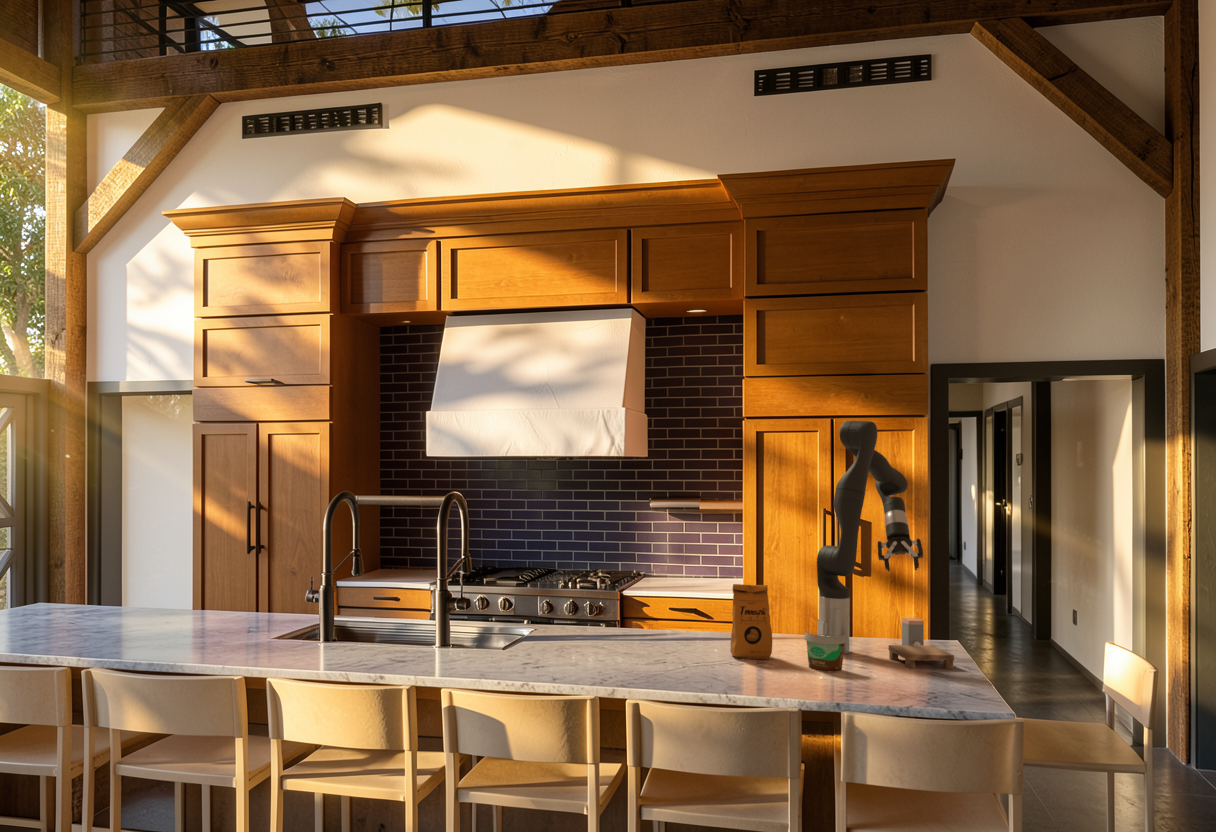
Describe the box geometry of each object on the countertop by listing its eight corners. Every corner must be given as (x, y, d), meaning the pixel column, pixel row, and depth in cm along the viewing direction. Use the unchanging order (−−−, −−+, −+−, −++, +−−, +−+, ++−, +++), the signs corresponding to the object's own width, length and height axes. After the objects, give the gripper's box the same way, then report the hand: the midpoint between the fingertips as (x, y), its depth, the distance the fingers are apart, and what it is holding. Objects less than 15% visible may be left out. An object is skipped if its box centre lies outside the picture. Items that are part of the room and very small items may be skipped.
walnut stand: (907, 668, 251) (907, 654, 251) (888, 658, 265) (888, 645, 265) (954, 669, 252) (954, 655, 252) (932, 658, 266) (932, 645, 266)
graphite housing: (910, 653, 274) (910, 621, 274) (901, 649, 280) (902, 617, 280) (925, 653, 274) (925, 621, 275) (916, 649, 280) (916, 618, 281)
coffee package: (772, 661, 256) (773, 587, 257) (730, 659, 257) (731, 585, 259) (770, 654, 265) (771, 583, 267) (730, 652, 267) (731, 581, 268)
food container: (798, 669, 247) (799, 633, 247) (804, 665, 252) (804, 630, 253) (842, 674, 241) (842, 638, 242) (846, 670, 247) (847, 635, 247)
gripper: (874, 522, 292) (879, 566, 282) (918, 519, 288) (925, 563, 278) (875, 532, 297) (880, 576, 288) (918, 530, 293) (925, 573, 284)
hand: (902, 569), depth 283 cm, fingers open, 8 cm apart
